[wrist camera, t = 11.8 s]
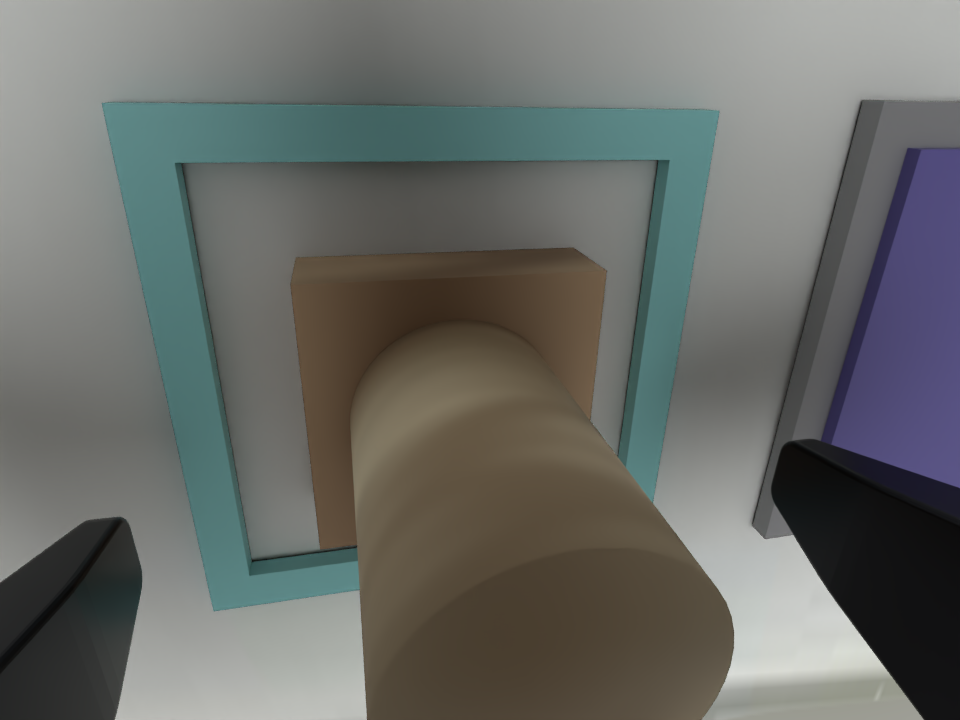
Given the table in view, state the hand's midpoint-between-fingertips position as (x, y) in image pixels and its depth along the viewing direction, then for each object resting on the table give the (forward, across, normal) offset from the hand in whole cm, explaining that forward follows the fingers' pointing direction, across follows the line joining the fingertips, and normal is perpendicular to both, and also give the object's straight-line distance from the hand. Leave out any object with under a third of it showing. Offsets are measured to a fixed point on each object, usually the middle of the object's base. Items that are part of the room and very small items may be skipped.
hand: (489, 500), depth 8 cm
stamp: (+4, 0, 0) cm, 4 cm away
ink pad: (+4, -13, 0) cm, 14 cm away
